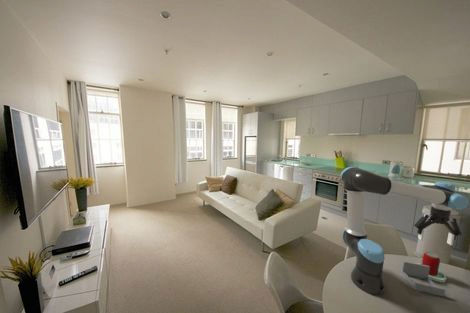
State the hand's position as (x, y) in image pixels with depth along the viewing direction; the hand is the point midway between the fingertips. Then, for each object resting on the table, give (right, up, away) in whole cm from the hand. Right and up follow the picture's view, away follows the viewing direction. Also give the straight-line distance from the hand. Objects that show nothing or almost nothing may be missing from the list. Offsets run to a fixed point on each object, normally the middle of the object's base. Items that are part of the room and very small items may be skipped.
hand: (434, 241), depth 103 cm
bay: (-14, -22, -5) cm, 26 cm away
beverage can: (0, -21, +3) cm, 21 cm away
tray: (0, -21, +3) cm, 21 cm away
